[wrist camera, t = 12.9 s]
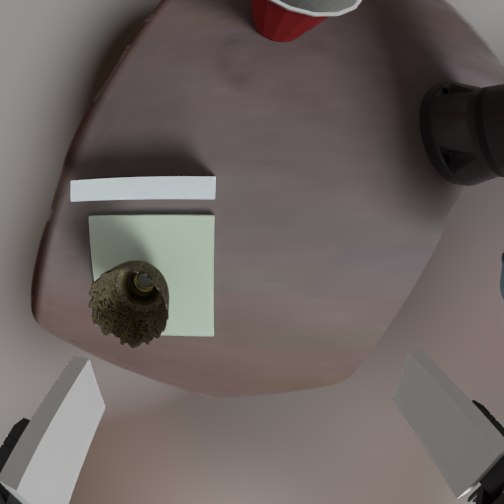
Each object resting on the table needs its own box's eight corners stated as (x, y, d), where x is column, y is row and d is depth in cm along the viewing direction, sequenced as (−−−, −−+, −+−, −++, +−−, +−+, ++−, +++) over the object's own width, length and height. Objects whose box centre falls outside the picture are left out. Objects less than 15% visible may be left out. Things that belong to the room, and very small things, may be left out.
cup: (104, 285, 30) (76, 317, 22) (133, 232, 29) (108, 252, 21) (157, 321, 31) (144, 361, 24) (191, 271, 30) (184, 303, 23)
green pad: (214, 214, 30) (214, 215, 29) (214, 332, 34) (214, 336, 33) (91, 215, 28) (88, 216, 27) (104, 328, 32) (102, 331, 31)
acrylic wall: (215, 176, 29) (215, 176, 24) (215, 195, 30) (215, 199, 25) (90, 179, 27) (70, 180, 22) (90, 197, 28) (70, 201, 23)
